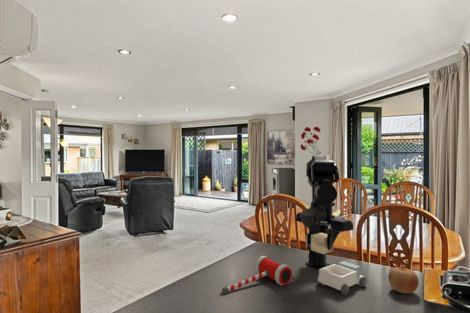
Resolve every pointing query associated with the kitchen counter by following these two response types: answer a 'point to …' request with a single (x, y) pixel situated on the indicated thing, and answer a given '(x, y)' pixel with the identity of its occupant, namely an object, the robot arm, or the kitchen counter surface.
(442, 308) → the kitchen counter surface
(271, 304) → the kitchen counter surface
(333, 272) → the toy truck
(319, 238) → the cream wooden cube
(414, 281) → the apple
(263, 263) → the toy hammer
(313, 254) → the robot arm
